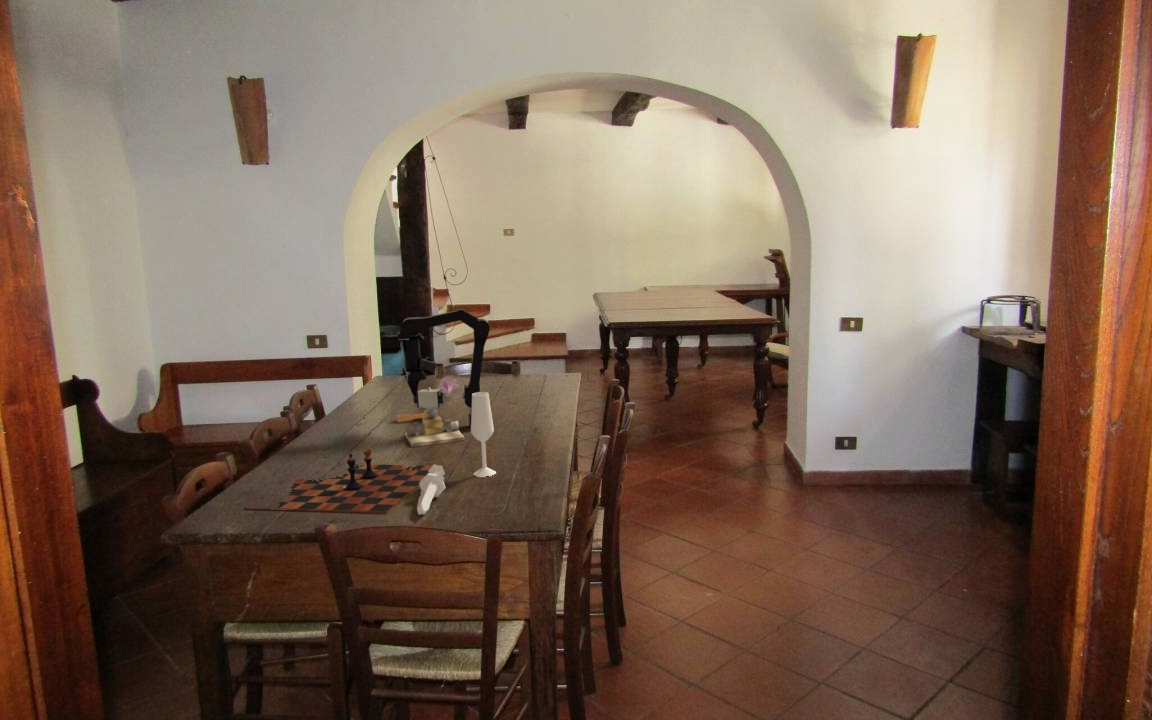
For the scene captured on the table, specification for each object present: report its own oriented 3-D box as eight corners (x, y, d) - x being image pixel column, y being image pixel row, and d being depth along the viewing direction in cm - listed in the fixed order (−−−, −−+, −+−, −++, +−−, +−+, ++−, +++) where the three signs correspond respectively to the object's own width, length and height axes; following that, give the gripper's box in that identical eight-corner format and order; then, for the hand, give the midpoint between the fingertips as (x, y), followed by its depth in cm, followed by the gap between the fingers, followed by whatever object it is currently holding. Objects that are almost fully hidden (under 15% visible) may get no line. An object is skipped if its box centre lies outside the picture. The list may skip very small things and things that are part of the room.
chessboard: (386, 515, 195) (383, 473, 194) (245, 510, 203) (240, 470, 201) (441, 468, 234) (438, 434, 233) (320, 466, 241) (317, 432, 240)
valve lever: (437, 417, 267) (437, 412, 267) (398, 422, 262) (397, 417, 262) (435, 415, 270) (434, 410, 270) (396, 420, 265) (396, 415, 265)
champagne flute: (486, 478, 221) (482, 397, 217) (468, 475, 224) (463, 395, 220) (500, 471, 226) (496, 392, 222) (483, 468, 230) (478, 390, 226)
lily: (465, 398, 334) (456, 378, 336) (465, 393, 323) (456, 373, 325) (439, 409, 332) (430, 389, 333) (438, 404, 320) (429, 384, 322)
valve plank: (455, 429, 277) (454, 411, 276) (464, 440, 262) (463, 421, 261) (405, 435, 271) (404, 417, 270) (411, 447, 256) (410, 427, 255)
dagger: (437, 515, 190) (457, 464, 216) (418, 499, 188) (441, 450, 215) (417, 534, 191) (439, 482, 218) (399, 519, 190) (423, 468, 217)
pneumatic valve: (443, 419, 293) (441, 388, 291) (414, 419, 295) (412, 389, 293) (448, 415, 299) (446, 385, 297) (419, 416, 300) (417, 386, 298)
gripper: (438, 354, 267) (441, 398, 269) (430, 347, 284) (433, 388, 287) (406, 357, 263) (409, 401, 266) (399, 350, 280) (402, 392, 283)
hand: (414, 395), depth 275 cm, fingers closed
